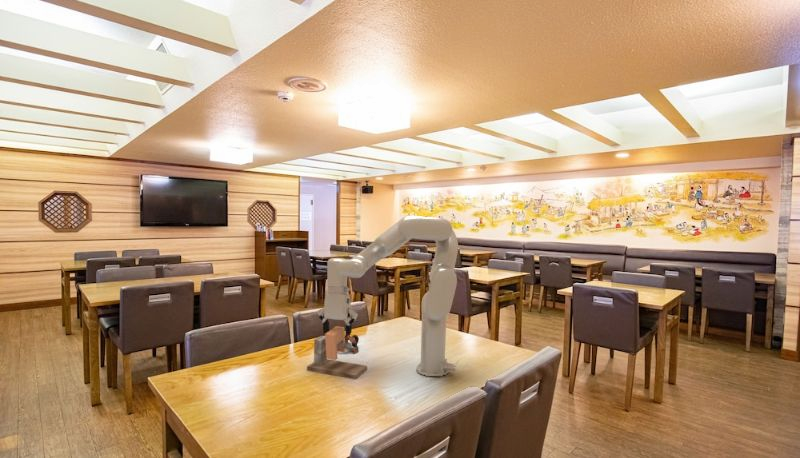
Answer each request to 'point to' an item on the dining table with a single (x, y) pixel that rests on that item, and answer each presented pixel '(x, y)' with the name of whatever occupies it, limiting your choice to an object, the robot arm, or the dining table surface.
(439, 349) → the robot arm
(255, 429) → the dining table surface
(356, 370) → the hook stand
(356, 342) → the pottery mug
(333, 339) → the saddle clip
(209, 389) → the dining table surface
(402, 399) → the dining table surface
